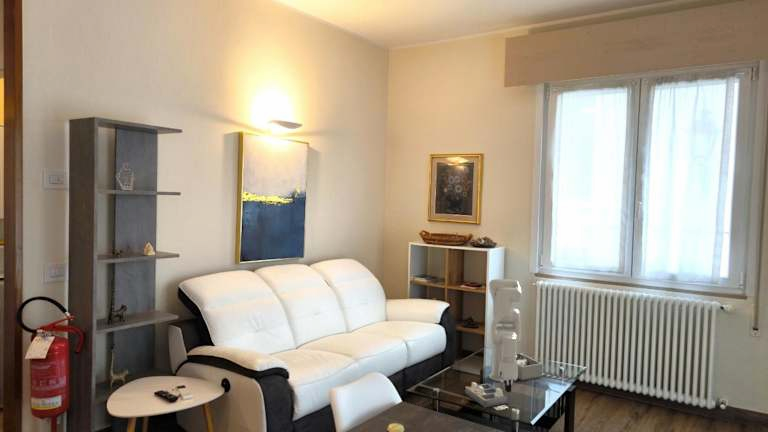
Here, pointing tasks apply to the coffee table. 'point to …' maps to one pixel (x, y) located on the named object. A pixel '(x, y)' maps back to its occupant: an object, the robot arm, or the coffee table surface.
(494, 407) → the label card
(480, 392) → the tab
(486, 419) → the coffee table surface
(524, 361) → the camera
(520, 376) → the grey open bin
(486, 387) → the grey shallow tray
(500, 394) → the tab
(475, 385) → the tab
